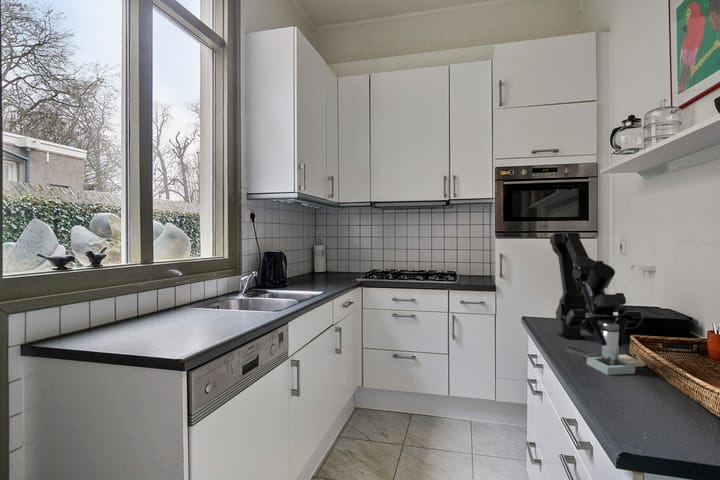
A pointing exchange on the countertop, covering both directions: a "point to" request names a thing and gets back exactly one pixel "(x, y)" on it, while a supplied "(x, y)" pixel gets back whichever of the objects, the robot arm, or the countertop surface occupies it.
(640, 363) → the beige square plate
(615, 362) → the grey round peg
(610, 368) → the socket
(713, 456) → the countertop surface
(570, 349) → the bar
